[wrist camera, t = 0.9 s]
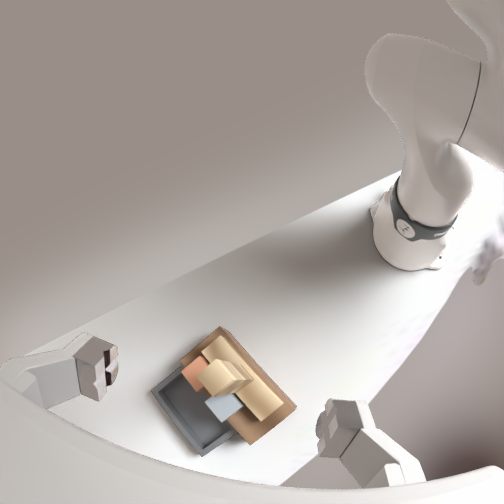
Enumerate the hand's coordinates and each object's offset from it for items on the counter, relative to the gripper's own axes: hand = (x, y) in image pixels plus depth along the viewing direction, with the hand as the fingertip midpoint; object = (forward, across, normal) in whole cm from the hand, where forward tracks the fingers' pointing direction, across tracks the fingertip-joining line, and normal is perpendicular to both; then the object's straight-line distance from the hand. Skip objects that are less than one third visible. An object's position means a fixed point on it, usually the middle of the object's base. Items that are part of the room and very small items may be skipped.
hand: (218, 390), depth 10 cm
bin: (+30, +3, +33) cm, 44 cm away
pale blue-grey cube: (+26, -1, +26) cm, 36 cm away
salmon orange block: (+29, +3, +24) cm, 37 cm away
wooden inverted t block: (+28, -3, +22) cm, 36 cm away
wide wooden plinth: (+32, -3, +27) cm, 42 cm away
